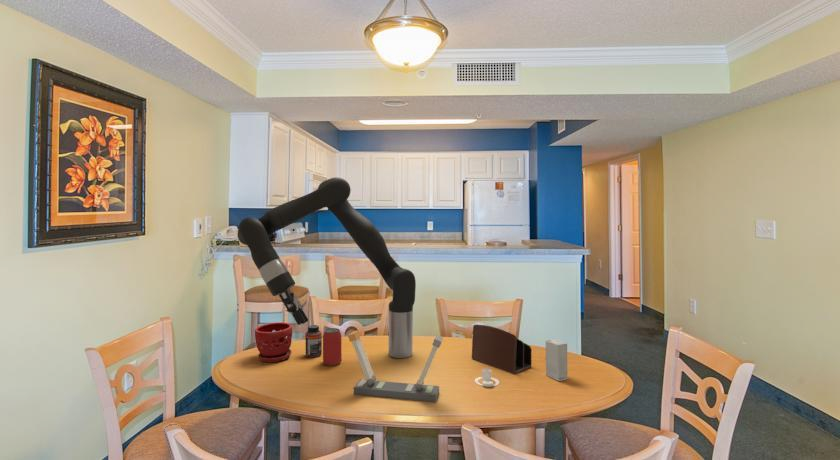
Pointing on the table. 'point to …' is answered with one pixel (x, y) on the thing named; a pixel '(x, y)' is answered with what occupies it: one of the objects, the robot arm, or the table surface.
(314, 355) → the supplement bottle
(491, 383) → the teacup and saucer
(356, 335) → the orange switch
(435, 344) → the grey switch
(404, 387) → the switch panel
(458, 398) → the table surface
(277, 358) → the plant pot
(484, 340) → the letter holder
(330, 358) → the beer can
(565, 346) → the skincare box
